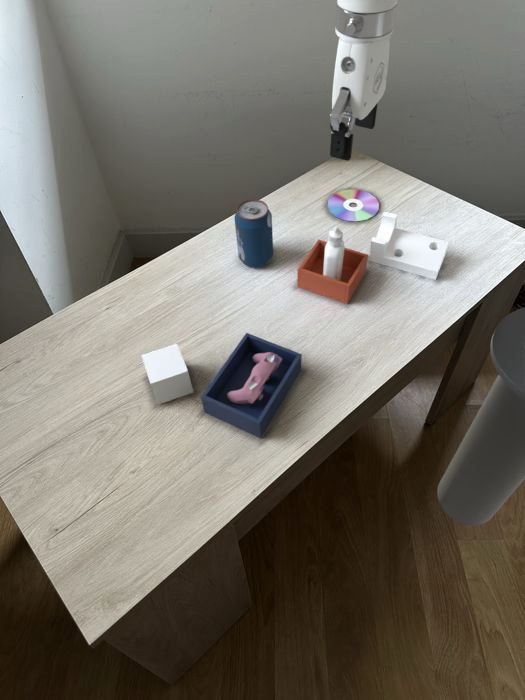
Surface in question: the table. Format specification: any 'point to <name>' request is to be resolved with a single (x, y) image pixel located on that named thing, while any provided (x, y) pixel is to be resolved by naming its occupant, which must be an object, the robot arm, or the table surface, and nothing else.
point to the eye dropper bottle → (334, 255)
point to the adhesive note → (167, 373)
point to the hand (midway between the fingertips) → (352, 141)
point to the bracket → (407, 249)
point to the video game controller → (256, 379)
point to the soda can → (254, 233)
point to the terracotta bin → (326, 286)
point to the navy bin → (237, 374)
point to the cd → (363, 211)
